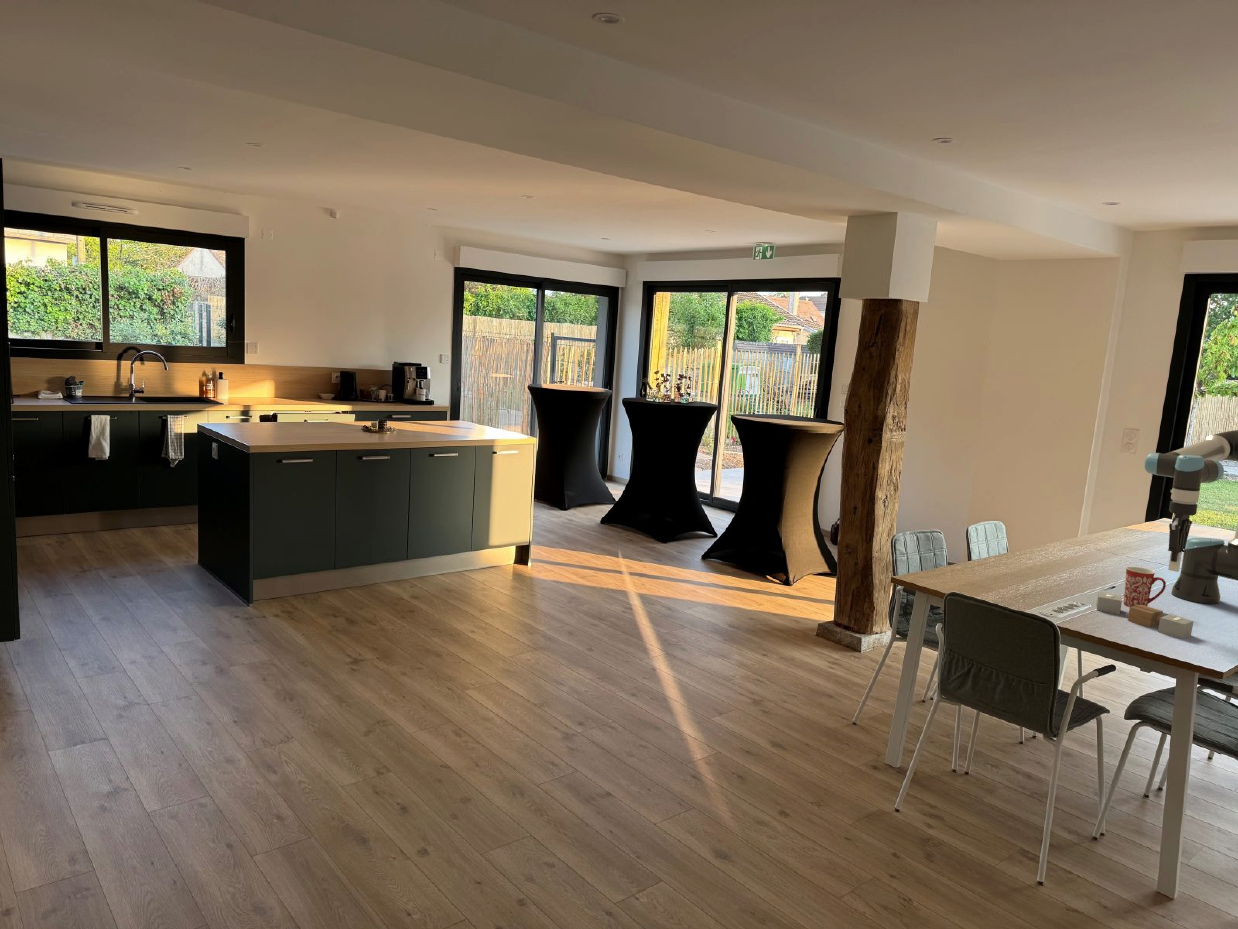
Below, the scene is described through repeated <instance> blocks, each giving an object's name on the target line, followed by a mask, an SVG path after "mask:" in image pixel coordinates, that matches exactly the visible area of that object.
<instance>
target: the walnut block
mask: <svg viewBox="0 0 1238 929" xmlns="http://www.w3.org/2000/svg"><path fill="white" fill-rule="evenodd" d="M1163 614H1164V611H1163V610H1161V609H1157V608H1154V607H1151V606H1149V605H1148V606H1144V605H1137V606H1132V607H1129V611H1128V618H1127V621H1128V622H1131V623H1135V624H1137V625H1141V626H1144V627H1147V628H1153V627H1157V626H1158V627H1159V623H1160V618H1161V617H1163Z"/></svg>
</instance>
